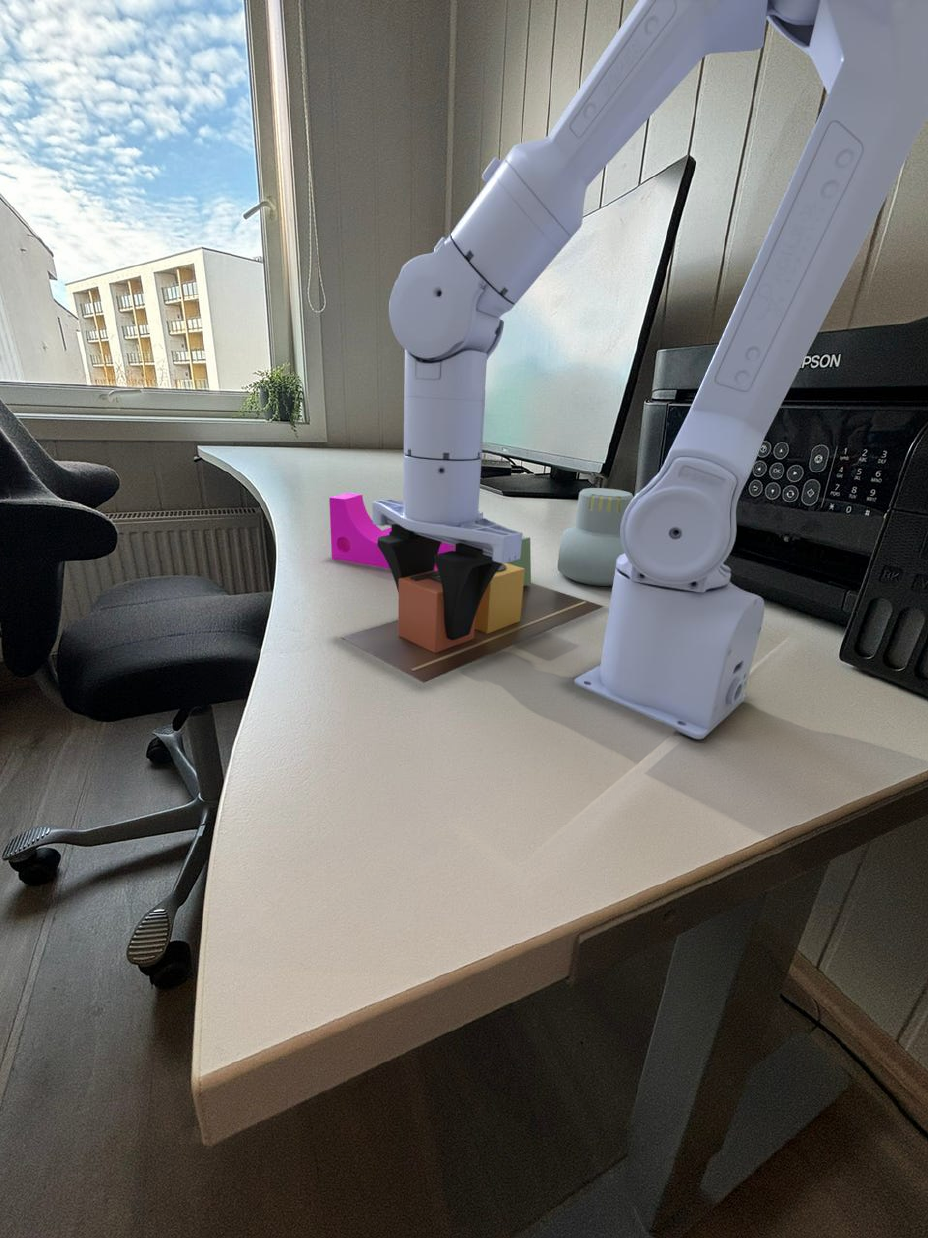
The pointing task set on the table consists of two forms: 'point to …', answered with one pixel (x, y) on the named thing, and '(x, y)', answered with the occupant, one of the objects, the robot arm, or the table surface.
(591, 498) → the air freshener
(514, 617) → the yellow cube
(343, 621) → the table surface
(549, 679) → the table surface
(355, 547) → the toy block
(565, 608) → the word board
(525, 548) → the green square block
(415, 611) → the orange letter t block
